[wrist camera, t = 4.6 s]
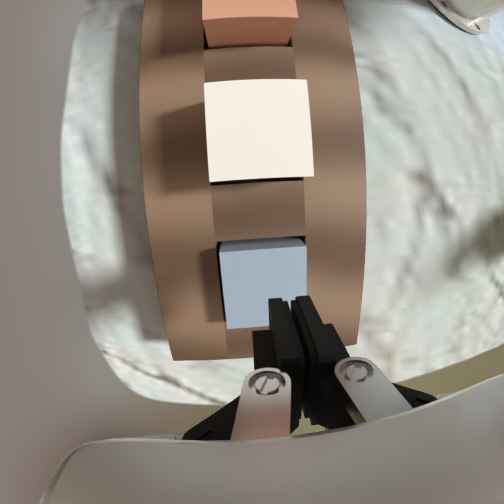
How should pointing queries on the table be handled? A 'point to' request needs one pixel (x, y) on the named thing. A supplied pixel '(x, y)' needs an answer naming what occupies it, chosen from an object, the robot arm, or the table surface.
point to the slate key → (260, 277)
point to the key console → (248, 190)
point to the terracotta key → (248, 22)
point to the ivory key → (258, 129)
